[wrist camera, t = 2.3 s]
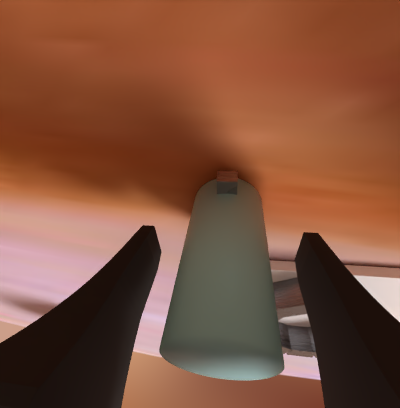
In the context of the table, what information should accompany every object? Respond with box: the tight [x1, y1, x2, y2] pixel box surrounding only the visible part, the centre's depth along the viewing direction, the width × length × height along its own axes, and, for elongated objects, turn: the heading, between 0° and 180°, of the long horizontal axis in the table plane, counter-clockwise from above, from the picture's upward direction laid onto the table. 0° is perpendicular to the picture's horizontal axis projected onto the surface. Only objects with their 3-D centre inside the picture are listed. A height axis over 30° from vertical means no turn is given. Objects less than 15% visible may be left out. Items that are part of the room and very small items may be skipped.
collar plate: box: [270, 260, 400, 358], centre depth 18 cm, size 15×12×3 cm
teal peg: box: [160, 171, 284, 380], centre depth 10 cm, size 4×5×8 cm
